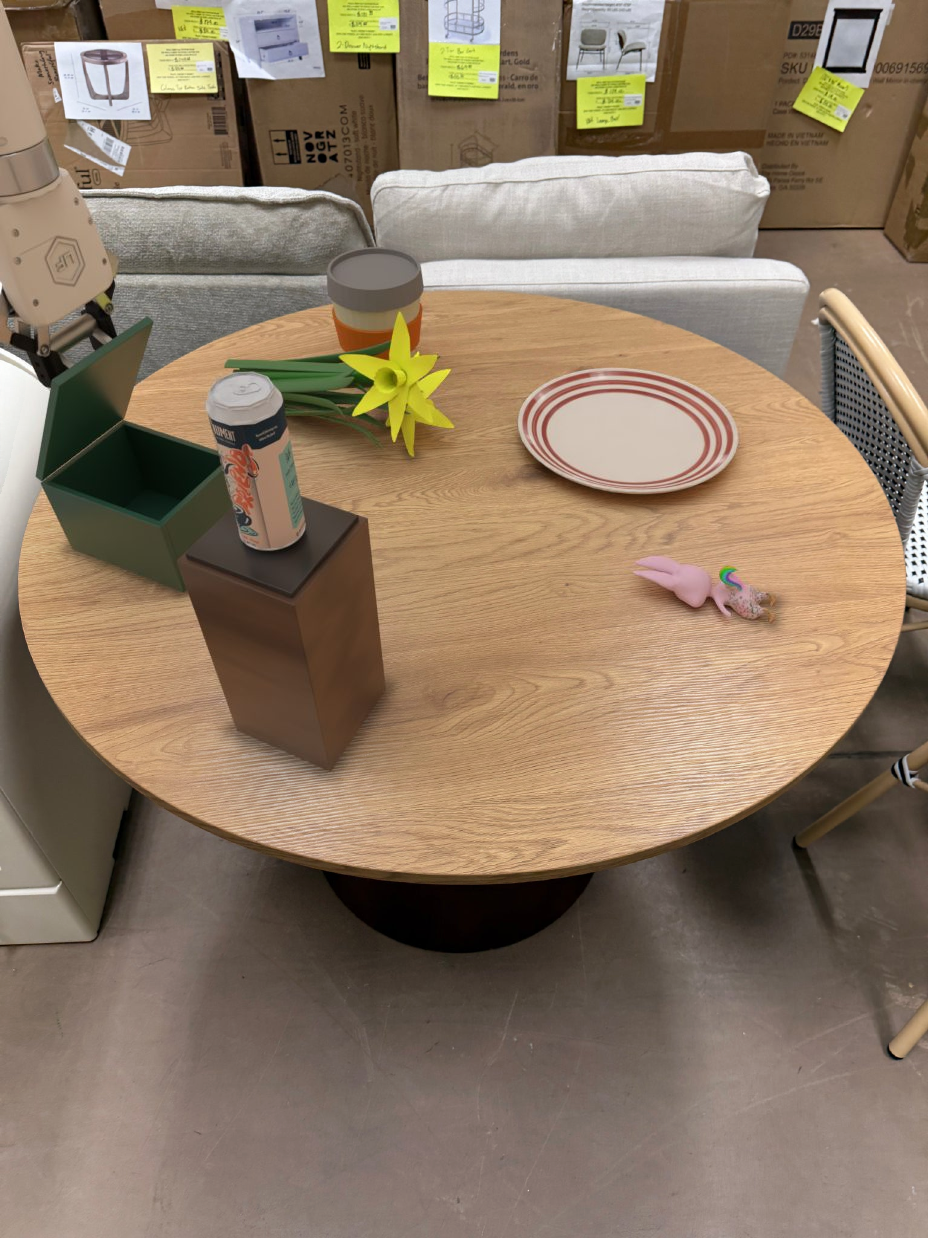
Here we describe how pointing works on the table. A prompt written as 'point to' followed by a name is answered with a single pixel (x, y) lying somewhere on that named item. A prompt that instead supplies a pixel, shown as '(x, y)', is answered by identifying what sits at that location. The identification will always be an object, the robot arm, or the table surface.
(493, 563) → the table surface
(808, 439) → the table surface
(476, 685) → the table surface
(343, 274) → the reusable coffee cup
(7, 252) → the robot arm
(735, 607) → the rabbit figure
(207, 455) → the box
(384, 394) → the daffodil flowers
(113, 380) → the lid
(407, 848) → the table surface
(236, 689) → the stand
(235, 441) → the beer can
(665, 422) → the dinner plate
